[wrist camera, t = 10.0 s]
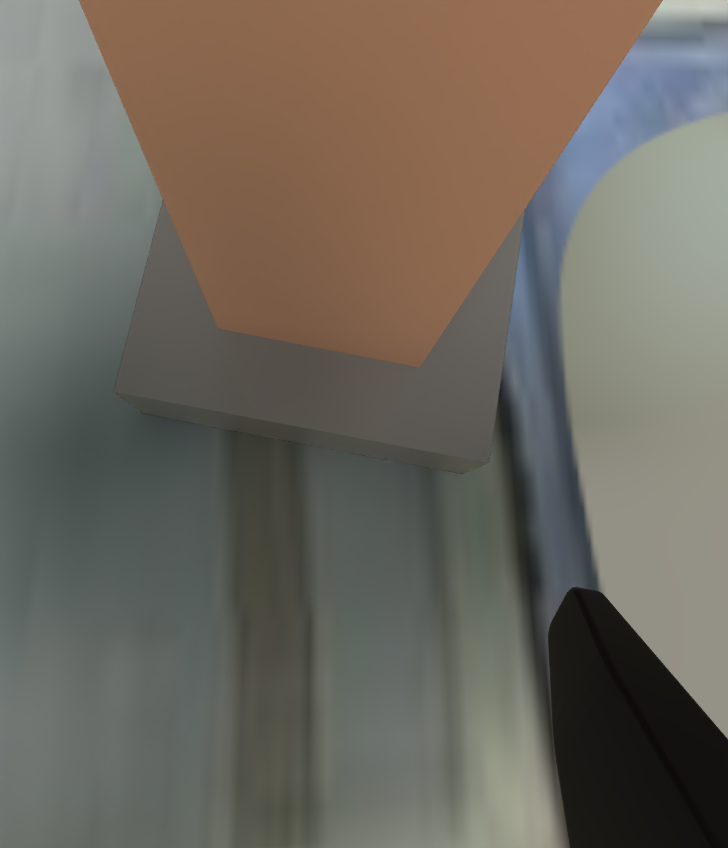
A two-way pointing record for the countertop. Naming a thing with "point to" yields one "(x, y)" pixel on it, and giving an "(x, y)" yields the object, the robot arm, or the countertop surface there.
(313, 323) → the tall block
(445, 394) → the plinth
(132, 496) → the countertop surface
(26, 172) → the countertop surface
